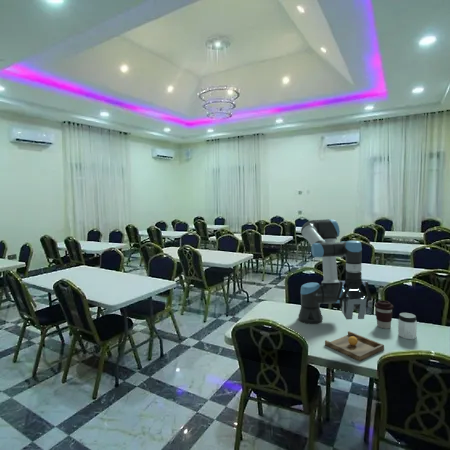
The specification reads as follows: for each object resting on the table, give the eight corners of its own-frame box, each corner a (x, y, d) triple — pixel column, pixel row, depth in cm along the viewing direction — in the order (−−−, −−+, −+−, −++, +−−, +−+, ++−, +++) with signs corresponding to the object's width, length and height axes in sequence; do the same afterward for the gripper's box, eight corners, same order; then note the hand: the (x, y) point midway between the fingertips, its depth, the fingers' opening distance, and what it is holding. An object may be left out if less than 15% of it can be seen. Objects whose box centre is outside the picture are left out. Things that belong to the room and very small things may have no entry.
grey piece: (346, 319, 165) (348, 299, 160) (340, 309, 173) (342, 289, 169) (364, 318, 164) (366, 298, 160) (357, 308, 173) (359, 289, 169)
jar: (399, 338, 176) (400, 317, 175) (396, 332, 184) (397, 312, 182) (418, 340, 173) (418, 318, 172) (414, 333, 181) (414, 313, 180)
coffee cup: (392, 331, 185) (392, 305, 184) (373, 328, 191) (373, 303, 189) (393, 325, 194) (394, 300, 192) (375, 322, 199) (375, 298, 198)
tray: (324, 345, 172) (324, 340, 171) (349, 335, 182) (349, 331, 182) (359, 361, 154) (359, 356, 154) (384, 349, 164) (384, 344, 164)
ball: (356, 348, 166) (347, 345, 169) (358, 343, 170) (349, 341, 173) (356, 339, 166) (347, 337, 168) (358, 335, 169) (349, 333, 172)
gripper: (331, 272, 163) (331, 314, 165) (379, 273, 158) (378, 316, 160) (330, 269, 170) (330, 309, 173) (375, 269, 165) (375, 311, 168)
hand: (353, 313), depth 166 cm, fingers closed on grey piece, 10 cm apart
